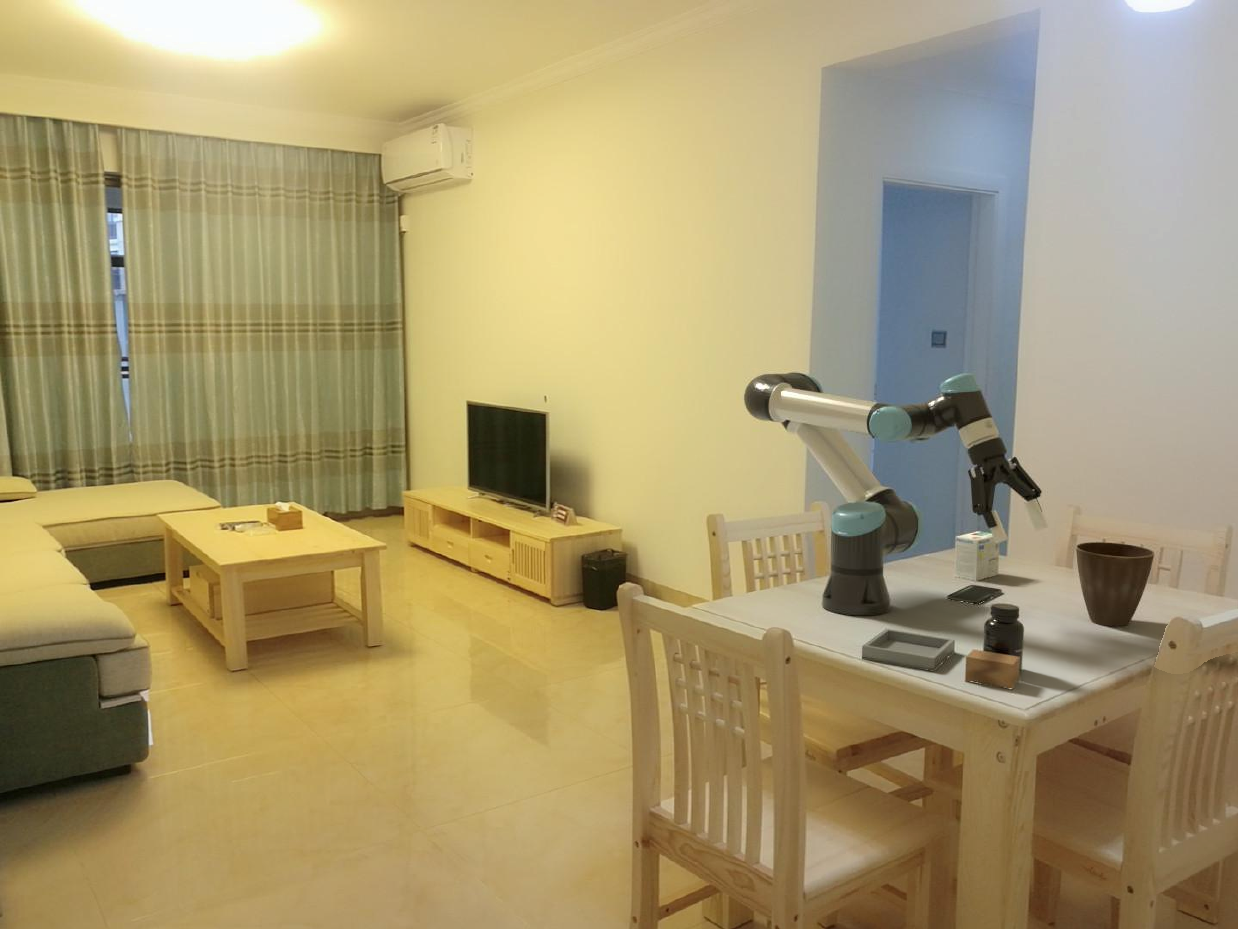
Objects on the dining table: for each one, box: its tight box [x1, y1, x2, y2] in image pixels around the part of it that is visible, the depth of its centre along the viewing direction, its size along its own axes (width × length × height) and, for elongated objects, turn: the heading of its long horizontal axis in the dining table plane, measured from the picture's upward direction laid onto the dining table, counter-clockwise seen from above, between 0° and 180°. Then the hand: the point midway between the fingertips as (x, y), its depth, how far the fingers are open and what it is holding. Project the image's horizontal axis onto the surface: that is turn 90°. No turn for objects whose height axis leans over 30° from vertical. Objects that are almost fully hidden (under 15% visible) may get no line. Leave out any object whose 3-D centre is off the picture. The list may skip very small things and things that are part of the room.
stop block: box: [964, 649, 1020, 689], centre depth 175 cm, size 8×5×4 cm, turn 56°
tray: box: [861, 628, 956, 672], centre depth 190 cm, size 14×14×2 cm
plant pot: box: [1075, 541, 1155, 628], centre depth 211 cm, size 15×15×16 cm
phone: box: [946, 584, 1003, 605], centre depth 235 cm, size 8×1×15 cm
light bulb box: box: [953, 531, 1000, 582], centre depth 254 cm, size 11×7×11 cm, turn 130°
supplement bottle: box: [982, 602, 1025, 674], centre depth 181 cm, size 7×7×12 cm
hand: (1022, 535), depth 209 cm, fingers open, 13 cm apart
